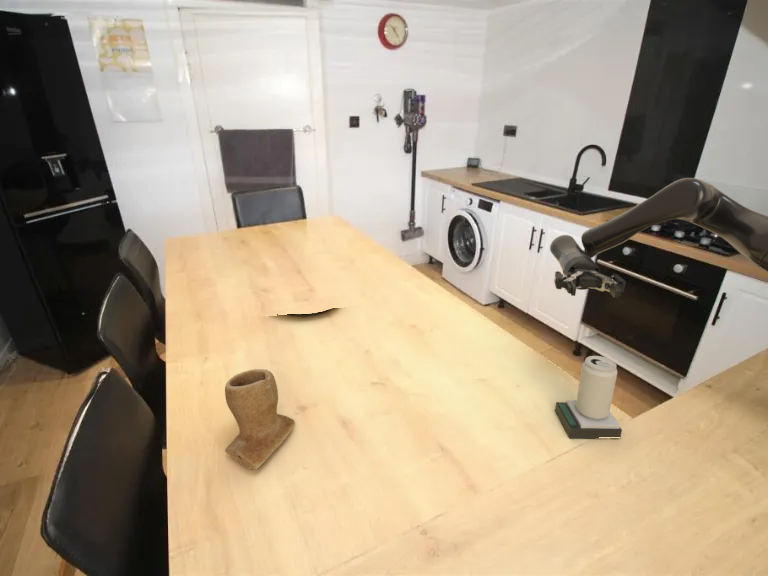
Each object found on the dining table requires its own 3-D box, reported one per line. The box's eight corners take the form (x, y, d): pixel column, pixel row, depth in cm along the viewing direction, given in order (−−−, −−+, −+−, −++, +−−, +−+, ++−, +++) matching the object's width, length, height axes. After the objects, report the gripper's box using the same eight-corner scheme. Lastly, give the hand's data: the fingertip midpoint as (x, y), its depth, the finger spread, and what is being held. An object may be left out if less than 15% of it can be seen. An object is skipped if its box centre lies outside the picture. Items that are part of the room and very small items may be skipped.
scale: (600, 411, 91) (602, 399, 90) (620, 439, 83) (622, 426, 82) (554, 411, 92) (556, 399, 91) (569, 438, 83) (571, 426, 82)
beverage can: (582, 398, 91) (590, 351, 86) (613, 411, 86) (623, 361, 82) (570, 412, 86) (577, 362, 82) (602, 426, 82) (612, 374, 78)
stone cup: (258, 414, 94) (249, 357, 88) (303, 426, 89) (295, 366, 84) (209, 460, 81) (195, 396, 75) (258, 477, 76) (247, 410, 71)
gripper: (551, 254, 103) (562, 274, 89) (613, 256, 100) (635, 278, 85) (548, 282, 106) (558, 306, 91) (608, 285, 103) (628, 310, 88)
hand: (595, 292), depth 88 cm, fingers open, 8 cm apart
